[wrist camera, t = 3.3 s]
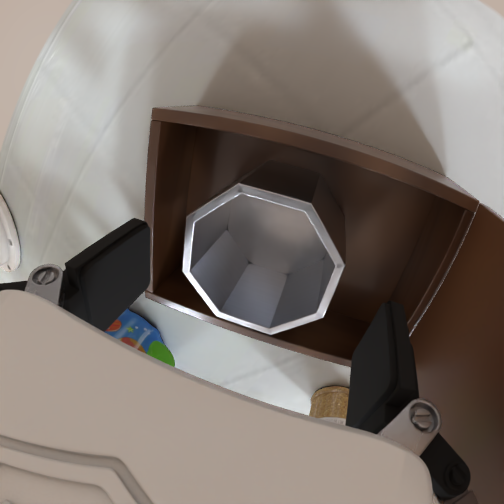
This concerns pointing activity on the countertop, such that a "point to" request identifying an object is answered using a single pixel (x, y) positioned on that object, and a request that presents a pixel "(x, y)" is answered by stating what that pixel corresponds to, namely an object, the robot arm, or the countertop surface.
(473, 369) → the lid
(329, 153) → the chest
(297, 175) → the steel cup
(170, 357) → the snack cup
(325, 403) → the sprinkles bottle
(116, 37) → the countertop surface
